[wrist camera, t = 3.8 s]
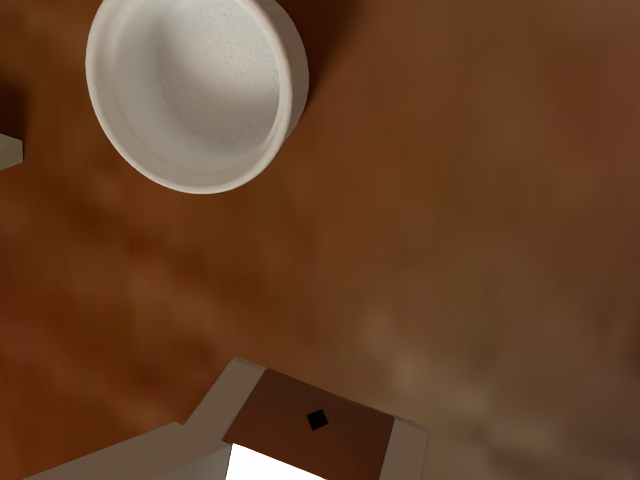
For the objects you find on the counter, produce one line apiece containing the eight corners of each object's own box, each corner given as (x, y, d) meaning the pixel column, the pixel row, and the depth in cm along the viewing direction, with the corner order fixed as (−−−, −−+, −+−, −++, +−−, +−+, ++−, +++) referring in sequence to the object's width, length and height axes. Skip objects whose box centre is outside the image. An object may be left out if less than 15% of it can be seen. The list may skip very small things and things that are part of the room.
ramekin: (176, -75, 25) (117, -85, 21) (358, 27, 25) (330, 36, 21) (120, 109, 30) (62, 128, 26) (274, 199, 29) (239, 232, 25)
